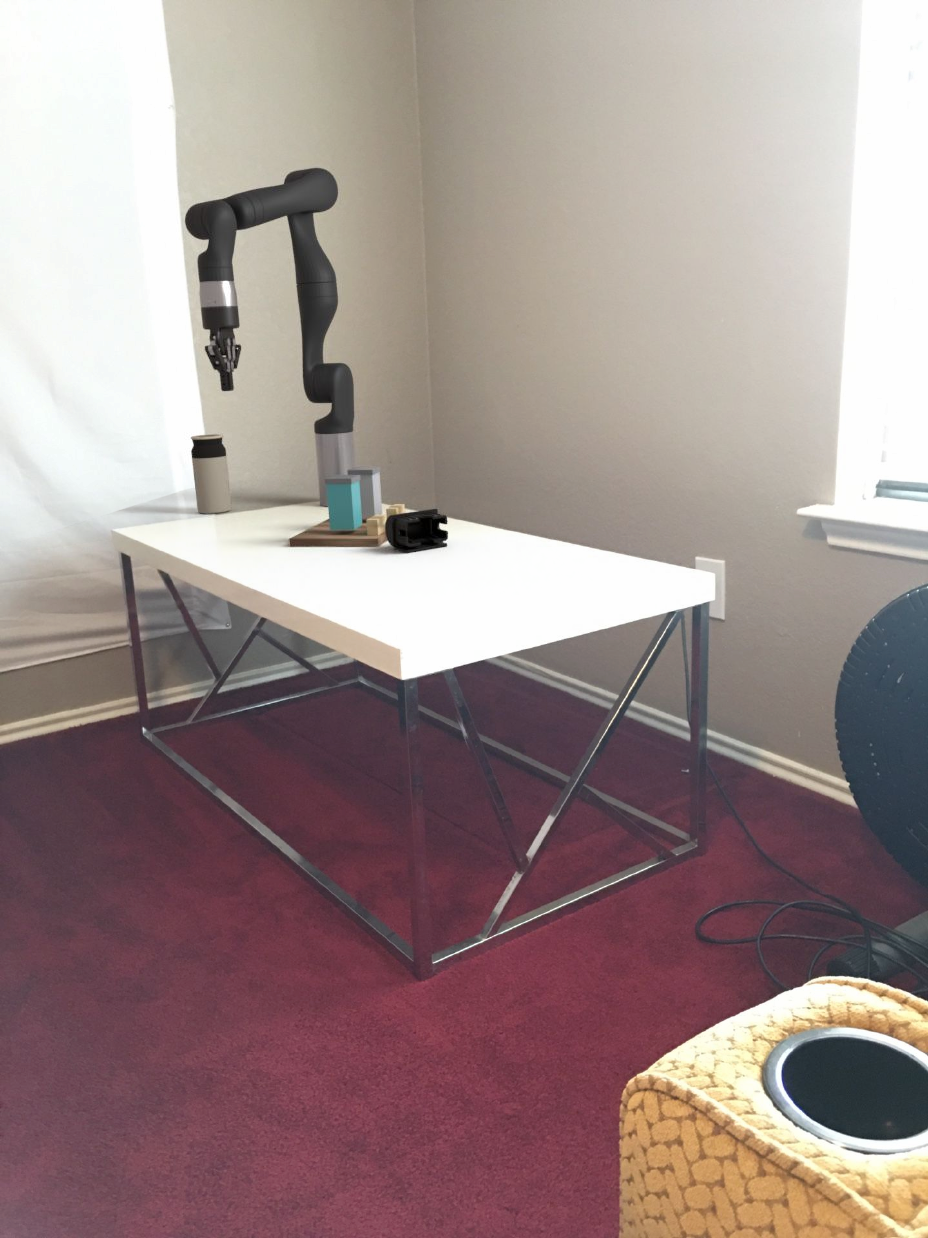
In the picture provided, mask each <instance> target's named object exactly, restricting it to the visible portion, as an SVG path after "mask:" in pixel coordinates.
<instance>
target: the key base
mask: <svg viewBox="0 0 928 1238" xmlns="http://www.w3.org/2000/svg"><path fill="white" fill-rule="evenodd" d="M405 507H406V506H405V503H397V504H396V503H394V504H392V505H390V506H389V507H387V508H385V514H381V515H374V516H373V517H371V518H362V526H360V527H358V528H356V529H355V530H330V523H329V518H328V519H325V520H324V521H321V522H319V523H317V524H315V525H314V526H312V527H309V528H308V529H306V530H303V531H301V532H300V533H298V534H296V535H294V536H292V537H290V538H289V539H288V541H289V547H376V548H377V547H380V546H381V545H383V544H384V543H385V542H388V540H387V537H386V533H385V523H386V520H387V518H388V517H389V516H390V515H395V514H402V513H406V511H405V510H406V508H405Z"/></svg>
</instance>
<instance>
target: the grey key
mask: <svg viewBox="0 0 928 1238" xmlns="http://www.w3.org/2000/svg"><path fill="white" fill-rule="evenodd" d="M347 472H348V475H360V480H359V485H360V499H361V514H362V518H371V517H373V516H374V515H383V505H382V492H381V491H382V489H381V488H382V487H381V475H380V472H381V466H356V467H354V468H352V469H349V470H347Z"/></svg>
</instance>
